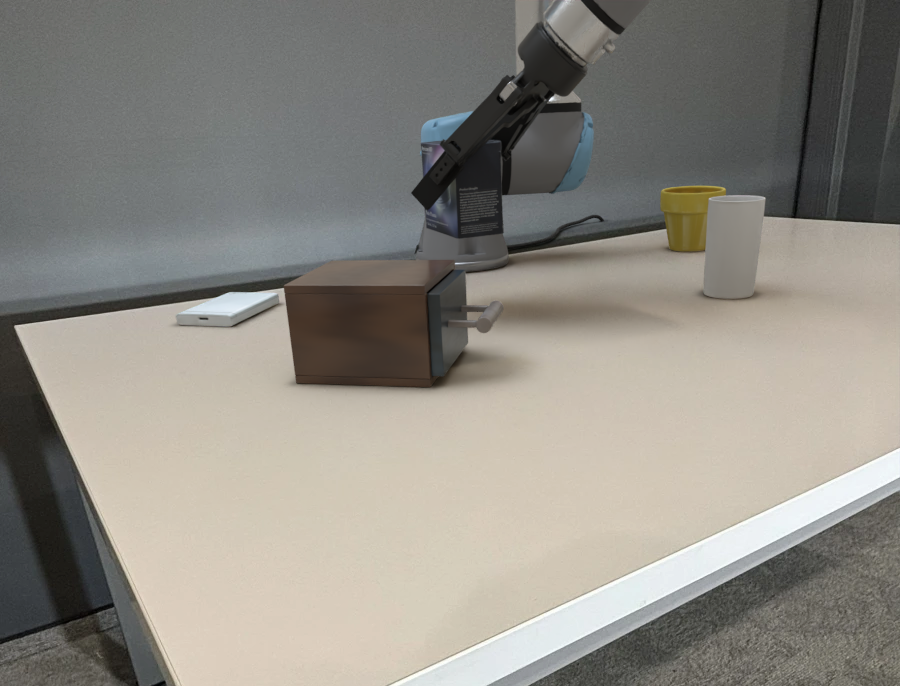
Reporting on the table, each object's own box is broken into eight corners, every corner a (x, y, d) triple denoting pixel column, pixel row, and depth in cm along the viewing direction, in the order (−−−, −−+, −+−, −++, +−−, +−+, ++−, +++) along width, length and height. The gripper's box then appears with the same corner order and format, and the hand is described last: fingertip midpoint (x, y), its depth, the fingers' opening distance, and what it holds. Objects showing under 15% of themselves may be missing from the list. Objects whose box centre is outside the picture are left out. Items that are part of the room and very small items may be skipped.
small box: (422, 229, 101) (417, 140, 97) (469, 224, 103) (465, 137, 99) (455, 239, 92) (451, 142, 88) (505, 234, 94) (504, 139, 90)
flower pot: (683, 256, 129) (688, 193, 125) (645, 248, 138) (648, 189, 134) (734, 249, 133) (740, 188, 129) (693, 241, 142) (697, 184, 138)
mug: (749, 301, 99) (759, 201, 95) (694, 297, 103) (702, 201, 98) (765, 285, 107) (775, 192, 102) (714, 282, 110) (722, 192, 106)
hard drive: (226, 291, 112) (174, 312, 101) (278, 292, 110) (230, 314, 99) (228, 303, 113) (176, 325, 102) (280, 304, 111) (232, 326, 100)
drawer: (507, 343, 84) (506, 269, 81) (488, 377, 74) (486, 294, 70) (357, 341, 87) (350, 269, 84) (319, 373, 77) (309, 293, 74)
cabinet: (458, 349, 86) (455, 259, 82) (430, 387, 75) (424, 285, 71) (340, 347, 89) (331, 260, 85) (295, 383, 78) (283, 285, 74)
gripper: (559, 68, 75) (421, 233, 87) (613, 71, 95) (494, 204, 107) (505, 9, 75) (374, 182, 87) (570, 24, 95) (456, 163, 107)
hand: (440, 195), depth 97 cm, fingers closed on small box, 11 cm apart
